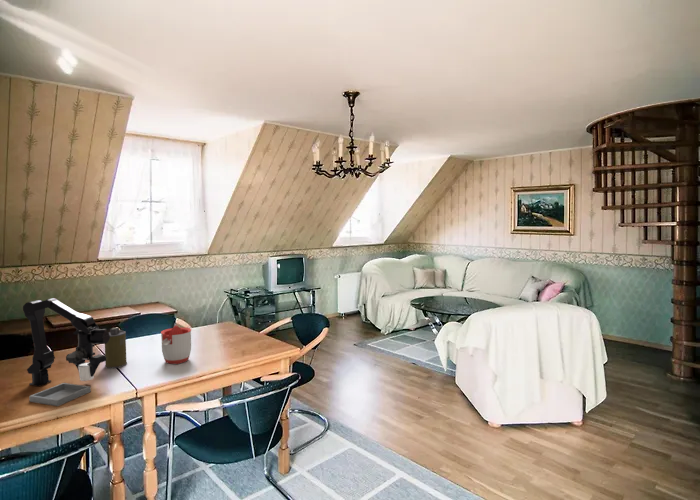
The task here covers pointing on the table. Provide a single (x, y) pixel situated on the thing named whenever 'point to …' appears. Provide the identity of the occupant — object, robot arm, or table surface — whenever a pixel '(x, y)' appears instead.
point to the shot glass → (84, 372)
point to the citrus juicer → (176, 344)
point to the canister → (116, 349)
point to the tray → (60, 394)
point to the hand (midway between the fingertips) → (86, 375)
